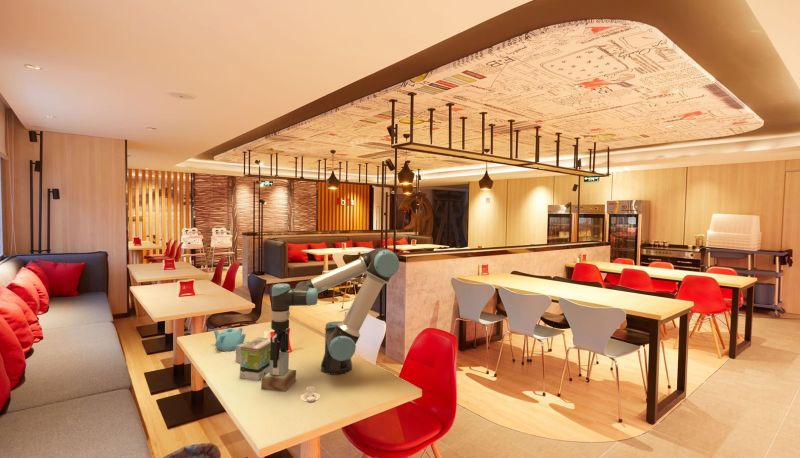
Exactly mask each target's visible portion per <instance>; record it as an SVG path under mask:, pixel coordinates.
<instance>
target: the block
mask: <svg viewBox="0 0 800 458" xmlns="http://www.w3.org/2000/svg"><path fill="white" fill-rule="evenodd" d="M289 357H290V353H289V351H287V352H281V351H280V352H279V359H278V360H280V362H279V375H282V376H283V375H284V374H285V373H286V372H287V371H288V369H289V363H290V362H289ZM269 374H272V375H273V360H270V371H269Z"/></svg>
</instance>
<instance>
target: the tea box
mask: <svg viewBox="0 0 800 458" xmlns="http://www.w3.org/2000/svg"><path fill="white" fill-rule="evenodd" d="M248 342H249V341H248ZM270 351H271V340H270V338H266V337H261V336H260V337H257V338H254V339H252V340H251V341H250V342H249V343H247V344H245V345H243V346H241V360H240V363H239V364H240V365H239V378H240V379H245V380H246V379H247V380H254V381H259V380H261V378H262V377H263V376H264V375H265V374H267V373H268V372H269V371H270Z"/></svg>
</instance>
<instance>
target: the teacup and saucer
mask: <svg viewBox="0 0 800 458" xmlns="http://www.w3.org/2000/svg"><path fill="white" fill-rule="evenodd" d="M305 391H306V392H305V393H302V394H301V395H300V396H299V398H300V400H301V401H303V402H311V403H312V402H314V401H318V400H319V399H320V398H321V396H320V394H319V393H317V392H315V388H314V386H308V387H306V388H305ZM305 396H306V399H305V398H304V397H305ZM315 396H316V397H315Z"/></svg>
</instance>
